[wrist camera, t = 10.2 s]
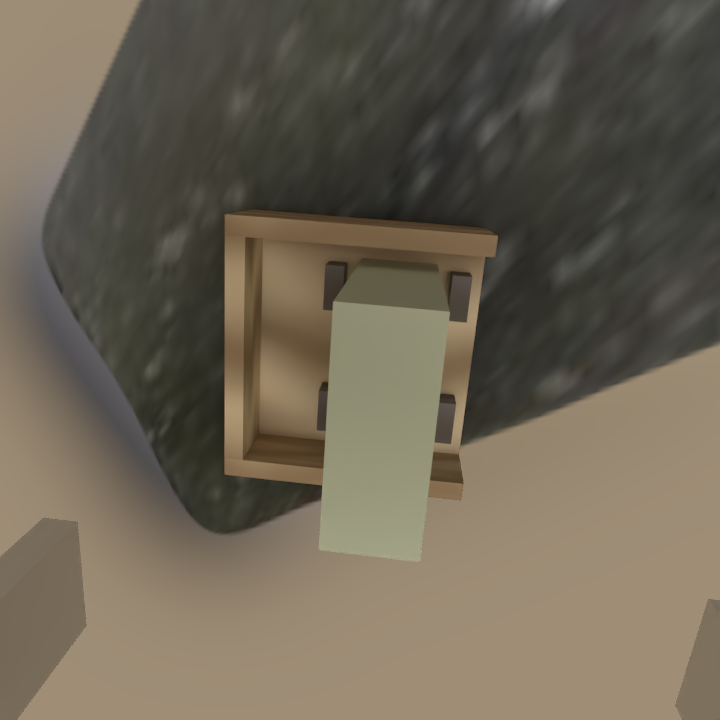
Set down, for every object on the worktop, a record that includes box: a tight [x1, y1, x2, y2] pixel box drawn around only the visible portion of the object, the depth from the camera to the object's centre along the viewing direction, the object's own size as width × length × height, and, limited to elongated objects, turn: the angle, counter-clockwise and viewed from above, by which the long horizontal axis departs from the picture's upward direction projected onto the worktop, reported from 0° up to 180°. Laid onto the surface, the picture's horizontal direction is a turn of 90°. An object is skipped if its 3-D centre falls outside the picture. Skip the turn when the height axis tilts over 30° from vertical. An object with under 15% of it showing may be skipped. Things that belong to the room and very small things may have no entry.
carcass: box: [225, 210, 498, 500], centre depth 32 cm, size 14×13×5 cm
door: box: [319, 258, 450, 562], centre depth 27 cm, size 10×5×12 cm, turn 176°
